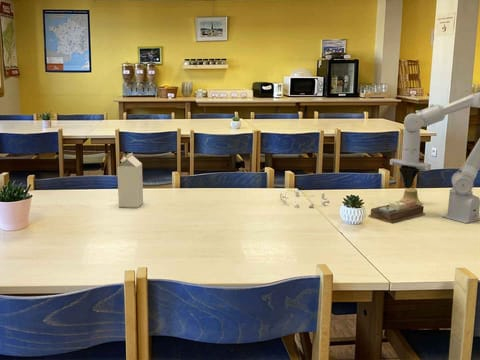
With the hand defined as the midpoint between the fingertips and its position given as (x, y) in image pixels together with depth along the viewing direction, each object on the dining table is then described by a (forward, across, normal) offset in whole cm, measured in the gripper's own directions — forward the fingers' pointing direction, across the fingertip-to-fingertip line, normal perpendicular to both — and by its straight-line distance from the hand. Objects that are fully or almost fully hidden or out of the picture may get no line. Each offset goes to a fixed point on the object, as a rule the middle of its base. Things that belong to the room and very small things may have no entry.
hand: (408, 187), depth 191 cm
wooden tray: (+9, +1, +5) cm, 11 cm away
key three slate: (+8, +1, +10) cm, 13 cm away
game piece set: (+10, +35, +14) cm, 39 cm away
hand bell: (+10, +7, -14) cm, 18 cm away
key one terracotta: (+7, 0, -1) cm, 7 cm away
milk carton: (+9, +72, +67) cm, 99 cm away
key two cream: (+7, +1, +5) cm, 9 cm away
